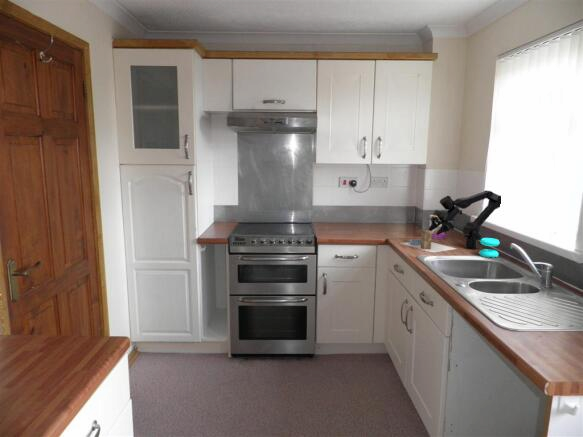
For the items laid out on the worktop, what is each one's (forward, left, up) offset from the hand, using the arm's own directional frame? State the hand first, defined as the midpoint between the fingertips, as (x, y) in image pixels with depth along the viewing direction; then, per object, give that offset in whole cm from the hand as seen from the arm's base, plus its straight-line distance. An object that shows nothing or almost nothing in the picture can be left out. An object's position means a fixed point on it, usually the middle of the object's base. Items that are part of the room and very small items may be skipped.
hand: (432, 232), depth 242 cm
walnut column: (+4, -1, -10) cm, 10 cm away
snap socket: (0, -13, -10) cm, 16 cm away
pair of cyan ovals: (-18, +26, -11) cm, 34 cm away
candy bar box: (-28, -22, -11) cm, 38 cm away
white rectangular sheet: (-3, -6, -11) cm, 12 cm away
